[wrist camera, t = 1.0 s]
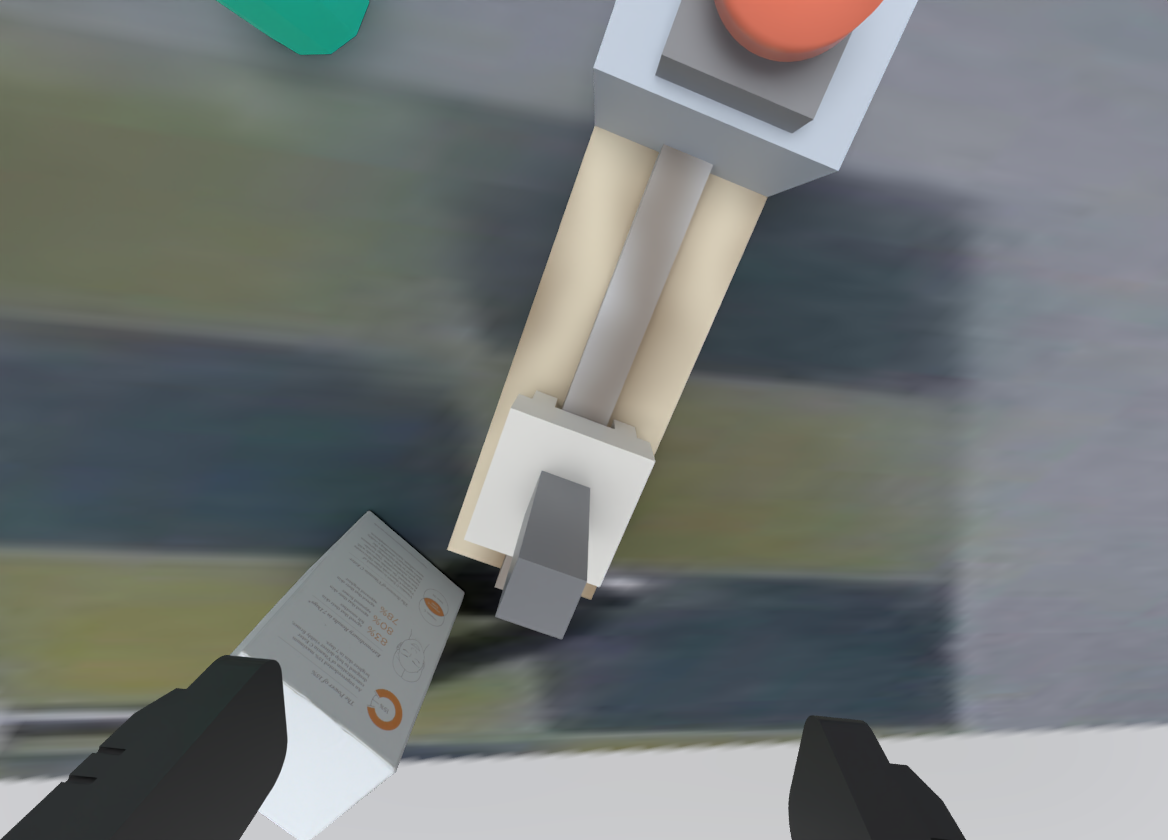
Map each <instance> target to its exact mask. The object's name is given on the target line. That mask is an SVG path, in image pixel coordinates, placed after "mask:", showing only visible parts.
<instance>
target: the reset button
mask: <svg viewBox="0 0 1168 840" xmlns="http://www.w3.org/2000/svg"><path fill="white" fill-rule="evenodd" d="M882 1H883V0H714V2H715V6H716V9H717V11H718V14H719V16H720V18H721V20H722V22H723V24H724V25H725V27H726V29H727V30H728V31H729V33H730V34H731V35H732V37H733V38H734V39H735V40H736V41H737V42H738V43H739V44H740V45H742V46H743V47H744V48H746V49H747V50H748V51H750V52H752V53H754V54H756V55H757V56H760V57H763V58H765V59H768V60H773V61H779V62H794V61H802V60H806V59H809V58H813V57H815V56H817V55H820V54H822V53H824V52H826V51H828V50H829V49H831V48H833V47H834V46H835V45H837V44H838V43H839V42H841V41H842V40H843V39H844V38H845V37H846V36H848V35H849V34H850V33H851V32H852V31H853V30H854V29H855V28H856V27H858V26H859V25H860V24H861V23H862V22H863V21H864V20H865V19H866V18H867V17H868V16H870V15H871V14H872V13H873V12H874V11H875V10H876V9H877V7H878V6H879V5H880V4H881V3H882Z"/></svg>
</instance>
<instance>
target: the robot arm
mask: <svg viewBox="0 0 1168 840" xmlns="http://www.w3.org/2000/svg"><path fill="white" fill-rule="evenodd" d="M287 743H288V736H287V725H286V714H285V702H284V691H283V679H282V670H281V666H280V664H279V663H278V662H277V661H276V660H272V659H262V658H252V657H242V656H232V655H224V656H222V657H220V658H218V659H217V660H216V661H214V662H213V663H212V664H211V665H210V666H209V667H208V668H207V669H206V670H205V671H204V672H203V673H202V674H201V675H200V676H199V677H198V678H197V679H196V680H195V681H194V682H193V683H192V684H191V685H190V686H189V687H188V688H187V689H179V688H176V689H174V690H173V691H171V692H169V693H168V694H166V695H164V696H163V697H161V698H159V699H158V700H156V701H154V702H153V703H151V704H149V705H148V706H146V707H144V708H143V709H141V710H140V711H138V712H136V713H135V714H133V715H132V716H131V717H130V718H129V719H128V720H127V721H126V722H125V723H124V724H123V725H122V726H121V727H120V728H118V729H117V730H116V731H115V732H114V733H113V734H112V735H111V736H110V737H109V738H108V739H107V740H106V741H105V742H104V743H103V744H101V745H100V746H99V750H98V752H97V753H92V754H91V755H90V756H89V757H88V758H87V759H86V760H84V761H83V762H82V763H81V764H80V765H79V766H78V767H77V768H76V769H75V770H74V771H73V772H72V773H71V774H70V775H69V779H68V780H67V781H66V782H61V783H60V784H59V785H58V786H57V787H56V788H55V789H54V790H53V791H52V792H50V793H49V794H48V795H47V796H46V797H45V798H44V799H43V800H42V801H41V802H40V803H39V804H38V805H37V806H36V807H35V808H33V810H31V811H30V812H29V813H28V814H27V815H26V816H25V817H24V818H23V819H22V820H21V821H20V822H19V823H18V824H17V825H15V826H14V827H13V828H12V829H11V830H10V831H9V832H8V833H7V834H6V835H5V836H4V837H3V838H2V839H1V840H239V839H240V838H241V836H242V835H243V833H244V831H245V830H246V828H247V827H248V825H249V824H250V822H251V821H252V819H253V817H254V816H255V814H256V813H257V811H258V810H259V808H260V807H261V805H262V804H263V802H264V801H265V799H266V798H267V796H268V795H269V793H270V791H271V790H272V788H273V787H274V785H275V783H276V781H277V779H278V777H279V775H280V772H281V770H282V767H283V764H284V760H285V756H286V752H287ZM788 809H789V825H790V832H791V838H792V840H966V839H965V838H964V836H963V834H962V832H961V831H960V829H959V827H958V826H957V824H956V822H955V821H954V819H953V817H952V816H951V814H950V812H949V811H948V809H947V808H946V806H945V804H944V802H943V801H942V800H941V799H940V798H939V797H938V796H937V795H936V794H935V793H934V792H933V791H932V790H931V789H930V788H929V787H928V786H927V785H926V784H925V783H924V782H923V781H922V780H921V779H920V778H919V777H918V776H917V775H916V774H915V773H914V772H913V771H912V770H911V769H910V768H909V767H908V766H907V765H898V764H890V763H889V761H888V759H887V757H886V756H885V754H884V752H883V750H882V748H881V746H880V745H879V742H878V741H877V739H876V737H875V735H874V733H873V731H872V730H871V728H870V727H869V726H868V724H867V723H865V722H864V721H862V720H852V719H842V718H832V717H822V716H809V717H808V718H807V720H806V722H805V725H804V729H803V734H802V739H801V743H800V748H799V752H798V757H797V762H796V766H795V771H794V775H793V780H792V784H791V789H790V794H789V807H788Z"/></svg>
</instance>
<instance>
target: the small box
mask: <svg viewBox="0 0 1168 840" xmlns="http://www.w3.org/2000/svg"><path fill="white" fill-rule="evenodd" d="M464 594H465V593H464V591H462V590H461V589H460V588H459V587H458V586H456V585H455V584H454V583H453V582H452V581H451V580H450V579H448V578H447V577H446V576H445V575H444V574H443V573H442V572H440V571H439V570H438V569H437V568H436V567H435V566H433V565H432V564H431V563H430V562H429V561H428V560H427V559H425V558H424V557H423V556H422V555H421V554H420V553H419V552H417V551H416V550H415V549H414V548H413V547H412V546H410V545H409V544H408V543H407V542H406V541H405V540H403V539H402V538H401V537H400V536H399V535H398V534H396V533H395V532H394V531H393V530H392V529H390V528H389V527H388V526H387V525H386V524H385V523H384V522H382V521H381V520H380V519H379V518H378V517H377V516H375V515H374V514H373V513H372V512H371V511H368V512H367V513H366V514H364V515H363V516H362V517H361V518H360V519H359V520H358V521H357V522H356V523H355V524H354V525H353V526H352V527H351V528H350V529H349V530H348V531H347V532H346V533H345V534H344V535H343V536H342V537H341V538H340V539H339V540H338V541H337V542H336V543H335V544H334V545H333V546H332V547H331V548H330V549H329V550H328V551H327V552H326V553H325V554H324V555H323V556H322V557H321V558H320V559H319V560H318V561H317V562H316V563H315V564H314V565H313V566H311V567H310V568H309V570H308V571H307V572H306V573H305V574H304V575H303V576H302V577H301V578H300V579H299V580H298V581H297V582H296V583H295V584H294V586H293V587H292V588H291V589H290V590H289V591H288V592H287V593H286V594H285V595H284V596H283V597H282V598H281V600H280V601H279V602H278V603H277V604H276V605H275V606H274V607H273V608H272V609H271V610H270V611H269V612H268V614H267V615H266V616H265V617H264V618H263V619H262V620H261V621H260V622H259V624H258V625H257V626H256V627H255V628H254V629H253V630H252V631H251V632H250V634H249V635H248V636H247V637H246V638H245V639H244V640H243V641H242V642H241V643H240V645H239V646H238V647H237V648H236V649H235V650H234V651H233V652H232V653H231V654H230V655H232V656H242V657H252V658H262V659H272V660H276V661H277V662H278V663H279V664H280V666H281V670H282V679H283V691H284V702H285V714H286V725H287V736H288V743H287V752H286V756H285V760H284V764H283V767H282V770H281V772H280V775H279V777H278V779H277V781H276V783H275V785H274V787H273V788H272V790H271V791H270V793H269V795H268V796H267V798H266V799H265V801H264V802H263V804H262V805H261V807H260V808H259V810H258V812H259V813H261V814H262V815H263V816H265V817H266V818H268V819H269V820H270V821H272V822H273V823H275V824H276V825H278V826H279V827H281V828H282V829H283V830H285V831H286V832H288V833H289V834H290V835H292V836H293V837H295V838H296V839H297V840H312V839H313V838H314V837H316V836H317V835H318V834H319V833H320V832H321V831H323V830H324V829H325V828H326V827H327V826H329V825H330V824H331V823H332V822H334V821H335V820H336V819H338V818H339V817H340V816H341V815H343V814H344V813H345V812H346V811H347V810H349V809H350V808H351V807H352V806H354V805H355V804H356V803H358V802H359V801H360V800H361V799H363V798H364V797H365V796H366V795H368V794H369V793H370V792H371V791H372V790H374V789H375V788H376V787H378V786H379V785H380V784H381V783H383V782H384V781H385V780H386V779H388V778H389V777H390V776H392V775H393V774H394V773H395V772H396V770H397V768H398V765H399V762H400V759H401V757H402V754H403V751H404V749H405V746H406V744H407V741H408V738H409V736H410V733H411V730H412V728H413V725H414V723H415V720H416V718H417V715H418V713H419V710H420V708H421V705H422V703H423V700H424V697H425V695H426V692H427V690H428V687H429V685H430V682H431V679H432V677H433V674H434V671H435V669H436V666H437V664H438V661H439V659H440V656H441V654H442V652H443V649H444V647H445V644H446V641H447V639H448V637H449V634H450V631H451V629H452V626H453V623H454V621H455V618H456V616H457V613H458V610H459V608H460V605H461V603H462V600H463V597H464Z"/></svg>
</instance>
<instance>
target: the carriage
mask: <svg viewBox="0 0 1168 840" xmlns="http://www.w3.org/2000/svg"><path fill="white" fill-rule="evenodd" d="M557 399H558V398H556V397H553V396H550V395H548V394H545V393H542V392H540V391H537V390H536V392H535V394H534V396H533V398H529V397H526V396H524V395H521V394H519V395H518V396H517V398H516V400H515V401H514V403H513V405H512V406H511V408H510V411H509V414H508V417H507V419H506V422H505V425H504V428H503V431H502V434H501V436H500V439H499V442H498V445H497V448H496V450H495V453H494V456H493V459H492V462H491V465H490V467H489V470H488V473H487V476H486V479H485V481H484V484H483V487H482V490H481V493H480V495H479V498H478V501H477V504H476V507H475V510H474V512H473V515H472V518H471V521H470V524H469V526H468V529H467V532H466V535H465V538H464V540H466V541H469V542H472V543H475V544H477V545H480V546H483V547H486V548H489V549H492V550H495V551H497V552H500V553H503V554H506V555H509V556H512V561H511V564H510V567H509V571H508V574H507V578H506V581H505V585H504V588H503V592H502V595H501V599H500V602H499V606H498V609H497V613H496V616H495V617H497V618H500V619H503V620H506V621H509V622H512V623H515V624H518V625H521V626H524V627H527V628H530V629H533V630H535V631H538V632H541V633H544V634H547V635H550V636H553V637H556V638H559V639H562V638H563V636H564V634H565V631H566V629H567V627H568V624H569V622H570V620H571V618H572V615H573V613H574V611H575V608H576V606H577V604H578V601H579V599H580V597H581V594H582V592H583V590H584V587H585V585H586V583H589V584H592V585H595V586H598V587H600V586H601V584H602V581H603V579H604V577H605V575H606V572H607V570H608V568H609V566H610V563H611V561H612V559H613V556H614V554H615V552H616V550H617V547H618V545H619V543H620V541H621V538H622V536H623V534H624V531H625V529H626V527H627V525H628V522H629V520H630V518H631V516H632V513H633V511H634V509H635V506H636V504H637V502H638V500H639V497H640V495H641V493H642V491H643V488H644V486H645V484H646V482H647V479H648V477H649V475H650V472H651V470H652V468H653V466H654V463H655V458H654V455H653V451H652V448H651V444H650V442H647V441H645V440H642V439H639V438H637V435H636V430H635V427H633V426H631V425H628V424H625V423H623V422H620V421H617V420H615V419H614V420H613V423H612V425H611V428H610V427H607V426H604V425H602V424H599V423H596V422H594V421H591V420H588V419H586V418H583V417H580V416H578V415H575V414H572V413H569V412H567V411H564V410H561V409H559V408H556V407H555V406H556V402H557Z"/></svg>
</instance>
